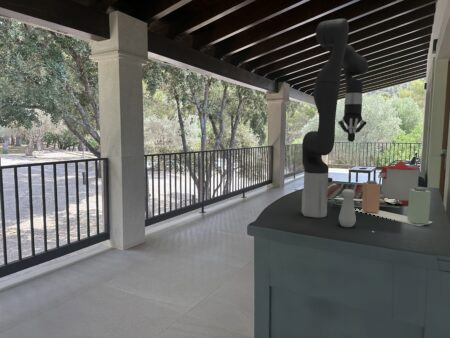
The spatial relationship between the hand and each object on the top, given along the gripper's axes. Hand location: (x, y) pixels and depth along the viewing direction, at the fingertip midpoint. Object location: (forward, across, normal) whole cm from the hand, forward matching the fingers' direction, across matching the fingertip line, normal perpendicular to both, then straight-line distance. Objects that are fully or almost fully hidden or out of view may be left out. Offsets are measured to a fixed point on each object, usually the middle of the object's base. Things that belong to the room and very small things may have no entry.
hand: (351, 141), depth 159 cm
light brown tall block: (+29, +2, -21) cm, 35 cm away
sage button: (+29, +13, -37) cm, 48 cm away
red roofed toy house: (+28, +23, 0) cm, 37 cm away
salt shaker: (+29, -14, -41) cm, 52 cm away
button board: (+29, +8, -26) cm, 40 cm away
